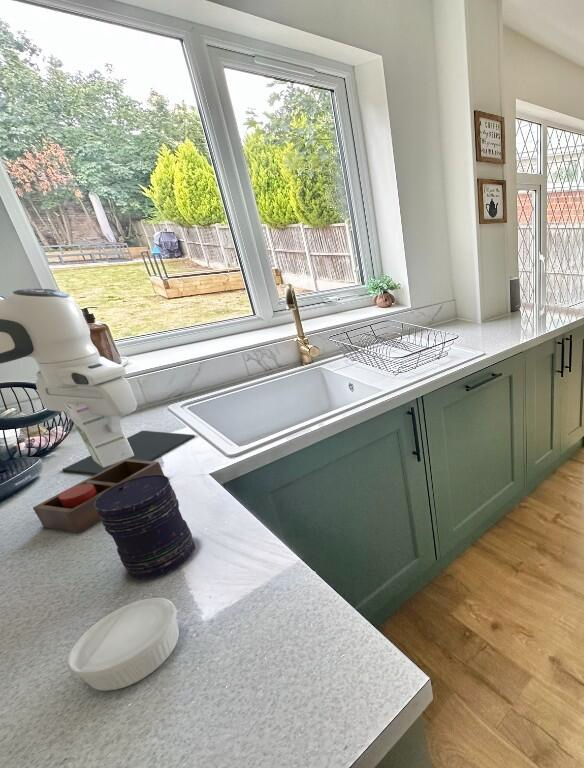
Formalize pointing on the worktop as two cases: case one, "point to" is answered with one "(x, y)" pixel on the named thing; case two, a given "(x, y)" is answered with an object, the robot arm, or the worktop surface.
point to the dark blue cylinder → (146, 526)
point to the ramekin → (126, 644)
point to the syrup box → (99, 436)
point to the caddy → (86, 513)
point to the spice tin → (77, 495)
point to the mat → (136, 450)
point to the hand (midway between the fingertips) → (100, 430)
